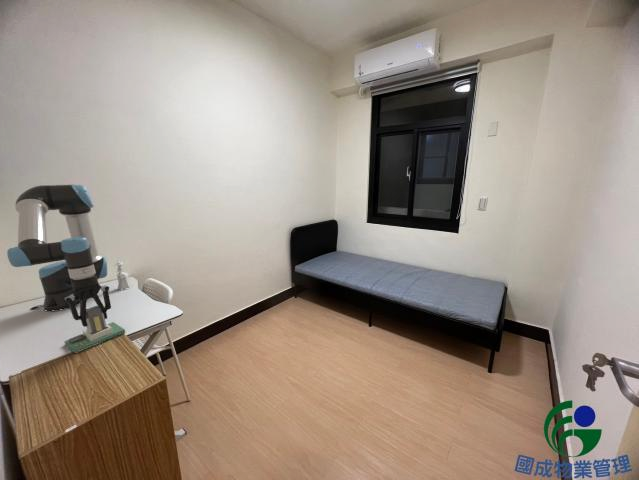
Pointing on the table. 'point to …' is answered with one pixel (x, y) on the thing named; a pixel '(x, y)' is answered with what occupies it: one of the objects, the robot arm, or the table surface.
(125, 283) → the figurine
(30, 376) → the table surface
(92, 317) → the plug
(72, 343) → the board
